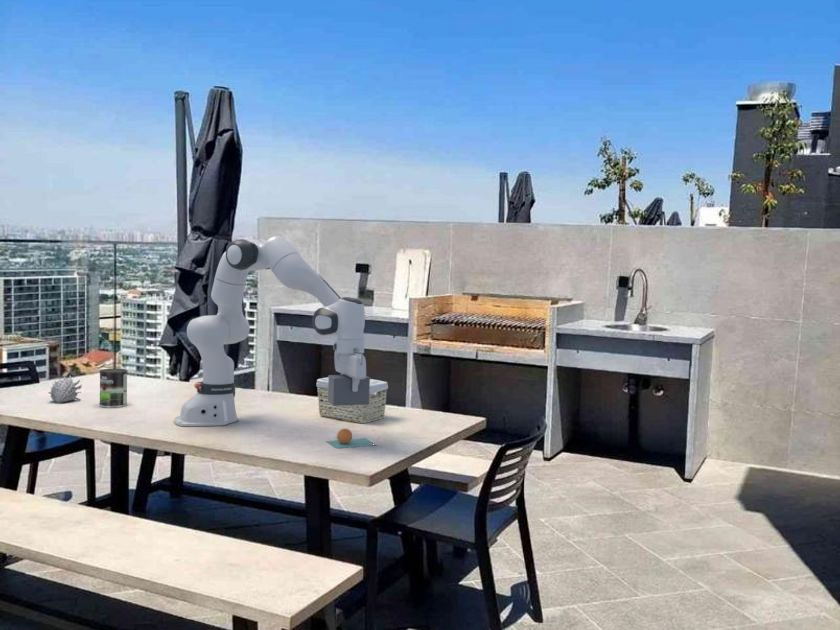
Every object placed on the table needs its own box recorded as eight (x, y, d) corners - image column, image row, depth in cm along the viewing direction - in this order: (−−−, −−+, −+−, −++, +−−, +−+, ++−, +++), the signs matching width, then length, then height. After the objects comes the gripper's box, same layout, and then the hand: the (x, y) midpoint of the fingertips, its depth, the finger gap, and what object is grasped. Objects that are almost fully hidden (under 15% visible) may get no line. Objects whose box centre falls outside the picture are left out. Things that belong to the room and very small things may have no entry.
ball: (357, 436, 256) (348, 448, 255) (351, 432, 260) (342, 444, 259) (347, 427, 254) (337, 440, 252) (341, 424, 258) (331, 436, 257)
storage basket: (389, 418, 299) (390, 380, 298) (363, 425, 286) (364, 385, 285) (340, 410, 312) (341, 374, 311) (314, 416, 299) (314, 378, 298)
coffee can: (114, 408, 303) (114, 372, 302) (93, 406, 306) (93, 370, 305) (133, 404, 312) (133, 369, 311) (113, 402, 316) (113, 367, 315)
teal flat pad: (336, 448, 250) (336, 448, 250) (326, 441, 259) (326, 441, 259) (376, 445, 256) (376, 444, 256) (365, 438, 265) (365, 438, 265)
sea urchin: (45, 408, 312) (74, 411, 311) (41, 384, 307) (69, 387, 306) (61, 393, 322) (89, 396, 321) (57, 370, 318) (85, 373, 317)
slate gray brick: (333, 405, 250) (333, 378, 249) (327, 401, 257) (328, 375, 256) (369, 404, 254) (370, 377, 254) (363, 400, 261) (363, 374, 261)
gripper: (371, 350, 246) (370, 394, 247) (349, 343, 265) (348, 383, 266) (352, 351, 244) (351, 395, 245) (331, 344, 262) (330, 384, 263)
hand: (349, 389), depth 255 cm, fingers closed on slate gray brick, 7 cm apart
